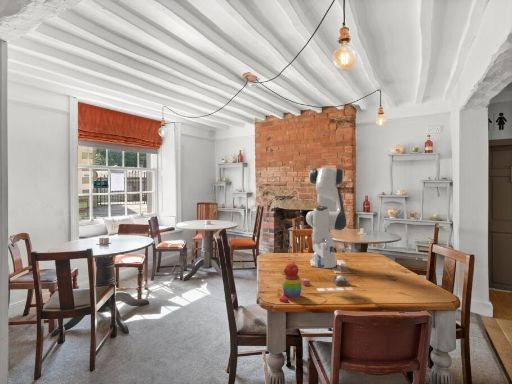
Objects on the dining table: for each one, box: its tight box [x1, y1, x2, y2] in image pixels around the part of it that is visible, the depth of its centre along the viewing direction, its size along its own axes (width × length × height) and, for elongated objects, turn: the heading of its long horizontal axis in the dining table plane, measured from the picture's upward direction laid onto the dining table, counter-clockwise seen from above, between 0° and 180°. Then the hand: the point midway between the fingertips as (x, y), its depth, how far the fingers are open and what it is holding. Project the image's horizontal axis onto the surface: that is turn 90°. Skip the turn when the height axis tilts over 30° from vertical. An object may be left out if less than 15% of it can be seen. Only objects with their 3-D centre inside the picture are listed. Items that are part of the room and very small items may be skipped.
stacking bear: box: [279, 262, 303, 303], centre depth 147 cm, size 11×10×18 cm
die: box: [300, 277, 311, 287], centre depth 165 cm, size 4×4×4 cm
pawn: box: [317, 255, 325, 269], centre depth 156 cm, size 4×4×7 cm
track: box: [315, 286, 354, 292], centre depth 157 cm, size 8×22×1 cm, turn 94°
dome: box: [336, 275, 344, 280], centre depth 166 cm, size 4×4×4 cm
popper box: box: [331, 276, 350, 287], centre depth 166 cm, size 7×7×4 cm
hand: (321, 263), depth 156 cm, fingers closed on pawn, 4 cm apart
